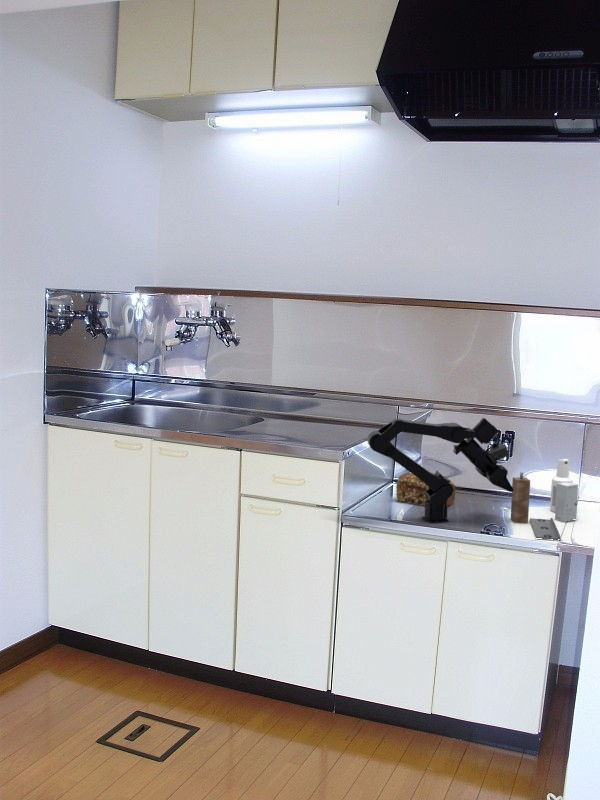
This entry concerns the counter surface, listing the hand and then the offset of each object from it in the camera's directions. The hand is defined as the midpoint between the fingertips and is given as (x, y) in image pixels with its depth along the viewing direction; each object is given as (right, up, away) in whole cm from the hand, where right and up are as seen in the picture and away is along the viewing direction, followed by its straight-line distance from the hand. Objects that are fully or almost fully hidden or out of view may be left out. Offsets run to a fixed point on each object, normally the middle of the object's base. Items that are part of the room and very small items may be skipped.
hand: (508, 487), depth 268 cm
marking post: (+4, -11, +1) cm, 12 cm away
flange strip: (+9, -12, -9) cm, 18 cm away
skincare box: (+20, -11, +4) cm, 23 cm away
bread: (-23, -8, +24) cm, 34 cm away
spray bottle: (+22, -10, +16) cm, 29 cm away
